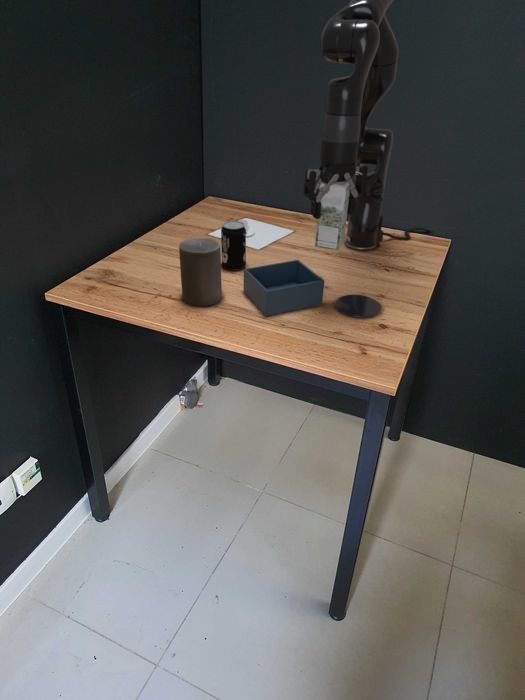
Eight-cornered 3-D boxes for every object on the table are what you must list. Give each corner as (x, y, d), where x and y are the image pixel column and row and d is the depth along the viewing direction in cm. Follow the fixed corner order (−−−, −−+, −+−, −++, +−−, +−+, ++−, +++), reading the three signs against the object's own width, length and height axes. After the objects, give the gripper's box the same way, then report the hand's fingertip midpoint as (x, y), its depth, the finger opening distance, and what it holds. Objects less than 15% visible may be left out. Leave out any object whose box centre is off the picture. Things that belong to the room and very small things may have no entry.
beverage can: (242, 272, 136) (242, 229, 129) (219, 269, 137) (218, 227, 130) (248, 262, 141) (248, 221, 135) (225, 260, 142) (224, 219, 136)
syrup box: (344, 242, 116) (352, 178, 108) (338, 251, 111) (346, 185, 103) (320, 238, 117) (326, 175, 109) (314, 247, 113) (319, 182, 105)
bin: (296, 282, 132) (298, 259, 128) (322, 304, 122) (324, 280, 118) (243, 292, 126) (243, 268, 123) (265, 316, 116) (266, 291, 113)
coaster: (363, 293, 127) (364, 291, 127) (390, 313, 119) (390, 311, 119) (326, 301, 123) (326, 299, 123) (351, 322, 115) (351, 320, 115)
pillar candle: (189, 309, 118) (185, 249, 110) (177, 291, 126) (173, 234, 117) (227, 302, 121) (226, 244, 113) (214, 285, 129) (212, 229, 120)
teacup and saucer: (241, 226, 165) (241, 214, 163) (261, 232, 161) (261, 219, 159) (224, 234, 159) (224, 221, 157) (244, 240, 155) (244, 227, 153)
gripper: (318, 143, 96) (312, 225, 105) (380, 138, 101) (369, 217, 110) (300, 135, 102) (296, 214, 111) (360, 131, 107) (351, 206, 116)
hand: (332, 215), depth 110 cm, fingers closed on syrup box, 8 cm apart
